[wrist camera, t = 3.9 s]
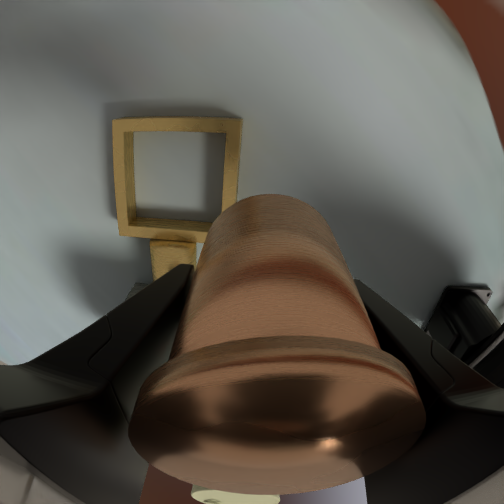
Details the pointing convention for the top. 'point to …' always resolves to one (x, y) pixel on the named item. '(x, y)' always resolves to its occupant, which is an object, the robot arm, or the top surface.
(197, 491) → the can
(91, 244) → the top surface
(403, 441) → the stub
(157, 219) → the socket
